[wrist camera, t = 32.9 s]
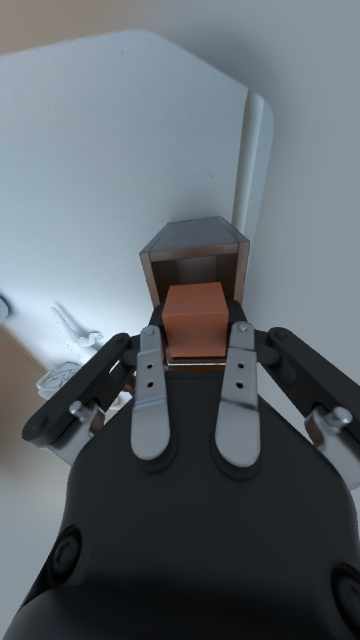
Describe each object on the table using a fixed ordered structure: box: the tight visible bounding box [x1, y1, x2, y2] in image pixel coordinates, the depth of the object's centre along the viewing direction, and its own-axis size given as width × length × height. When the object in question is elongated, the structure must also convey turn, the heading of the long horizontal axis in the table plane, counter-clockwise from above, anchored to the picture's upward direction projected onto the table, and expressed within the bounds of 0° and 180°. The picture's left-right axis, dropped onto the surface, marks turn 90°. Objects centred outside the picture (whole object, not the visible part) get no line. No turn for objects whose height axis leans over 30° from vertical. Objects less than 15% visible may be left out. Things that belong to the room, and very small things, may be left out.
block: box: [162, 282, 229, 357], centre depth 12 cm, size 4×4×4 cm
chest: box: [139, 216, 250, 364], centre depth 23 cm, size 15×9×17 cm, turn 7°
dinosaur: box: [50, 307, 103, 364], centre depth 41 cm, size 11×25×9 cm, turn 16°
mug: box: [37, 362, 82, 400], centre depth 51 cm, size 11×8×10 cm
